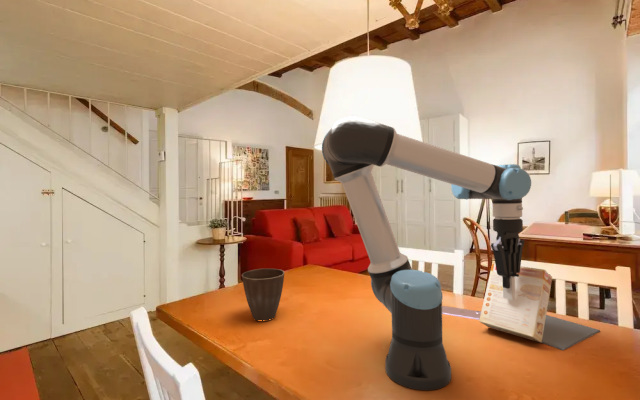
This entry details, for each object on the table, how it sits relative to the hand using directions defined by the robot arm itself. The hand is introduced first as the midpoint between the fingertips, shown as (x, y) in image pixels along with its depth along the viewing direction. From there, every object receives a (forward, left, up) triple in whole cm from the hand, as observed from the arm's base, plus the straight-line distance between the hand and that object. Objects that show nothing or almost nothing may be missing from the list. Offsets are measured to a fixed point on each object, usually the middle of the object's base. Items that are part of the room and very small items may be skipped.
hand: (509, 298), depth 96 cm
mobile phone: (+5, +20, -12) cm, 24 cm away
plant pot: (-55, +55, -12) cm, 79 cm away
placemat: (+15, -1, -12) cm, 19 cm away
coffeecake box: (0, 0, -10) cm, 10 cm away
